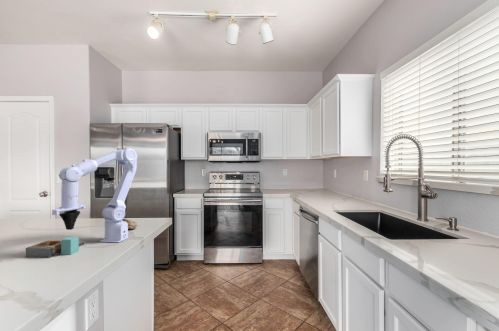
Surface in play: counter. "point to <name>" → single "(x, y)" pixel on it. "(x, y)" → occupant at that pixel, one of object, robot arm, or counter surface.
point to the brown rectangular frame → (50, 245)
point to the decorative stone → (130, 224)
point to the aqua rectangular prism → (69, 245)
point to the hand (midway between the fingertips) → (69, 229)
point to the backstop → (42, 251)
